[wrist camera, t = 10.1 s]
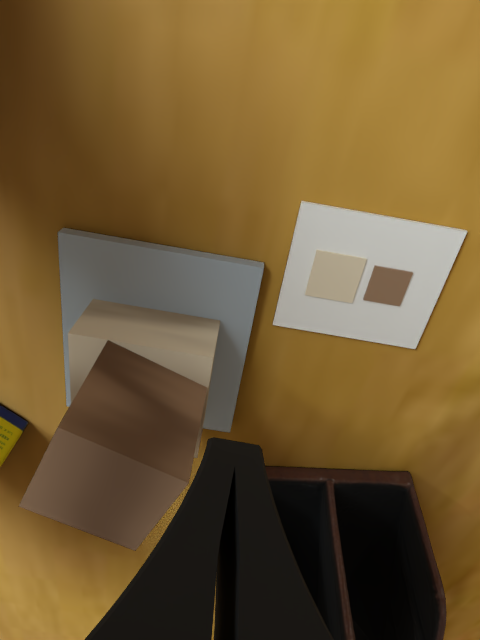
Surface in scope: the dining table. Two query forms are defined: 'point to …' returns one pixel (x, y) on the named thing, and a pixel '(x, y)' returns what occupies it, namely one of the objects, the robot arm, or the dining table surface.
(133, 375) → the walnut brick
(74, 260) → the board
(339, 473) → the letter holder
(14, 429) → the supplement box
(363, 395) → the dining table surface
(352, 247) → the page
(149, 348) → the beech brick
